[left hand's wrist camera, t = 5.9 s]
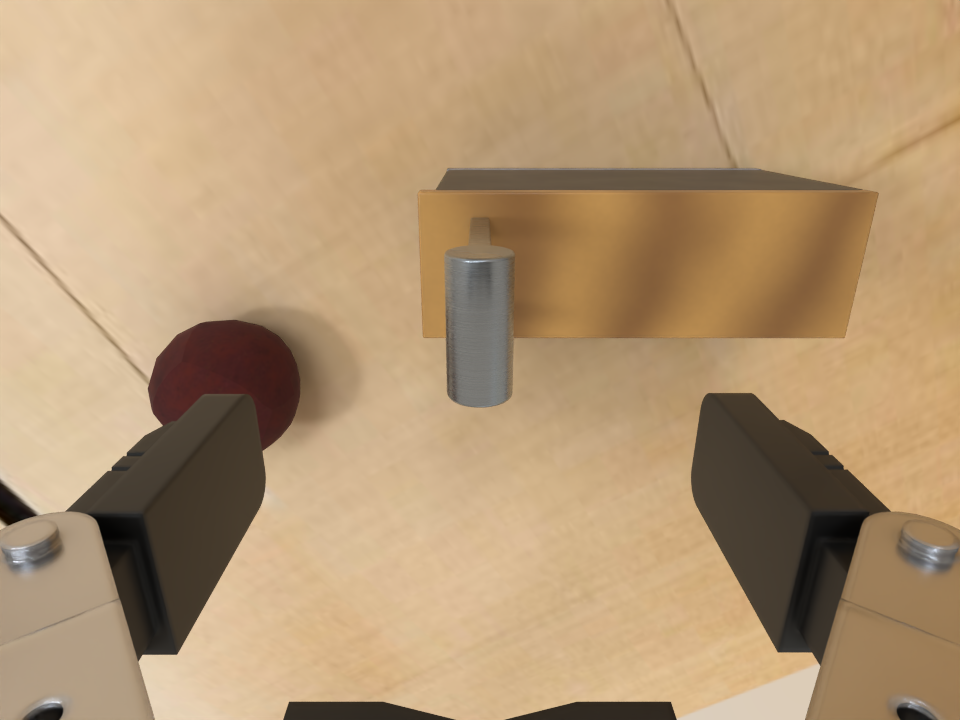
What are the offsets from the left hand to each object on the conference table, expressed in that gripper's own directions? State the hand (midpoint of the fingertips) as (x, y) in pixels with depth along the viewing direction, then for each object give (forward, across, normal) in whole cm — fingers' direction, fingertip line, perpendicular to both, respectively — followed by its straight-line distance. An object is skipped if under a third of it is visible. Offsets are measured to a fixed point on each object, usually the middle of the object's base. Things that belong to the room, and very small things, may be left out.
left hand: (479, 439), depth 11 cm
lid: (+14, +6, 0) cm, 16 cm away
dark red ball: (+24, -14, -8) cm, 29 cm away
